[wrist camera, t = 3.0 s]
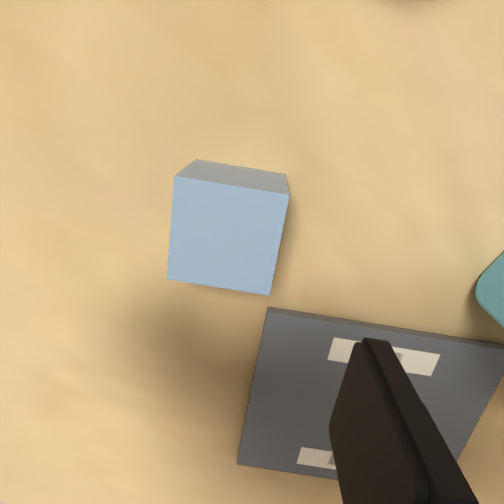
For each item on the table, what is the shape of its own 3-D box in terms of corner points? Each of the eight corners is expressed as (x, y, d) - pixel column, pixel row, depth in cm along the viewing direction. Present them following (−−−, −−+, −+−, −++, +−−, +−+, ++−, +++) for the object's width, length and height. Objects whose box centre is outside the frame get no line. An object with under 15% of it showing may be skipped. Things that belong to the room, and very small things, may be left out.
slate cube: (285, 173, 20) (289, 195, 15) (269, 255, 22) (269, 295, 17) (196, 159, 20) (174, 175, 15) (188, 242, 22) (166, 279, 17)
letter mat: (509, 345, 23) (515, 351, 23) (434, 487, 29) (438, 495, 28) (267, 306, 23) (267, 311, 23) (237, 457, 29) (236, 464, 28)
